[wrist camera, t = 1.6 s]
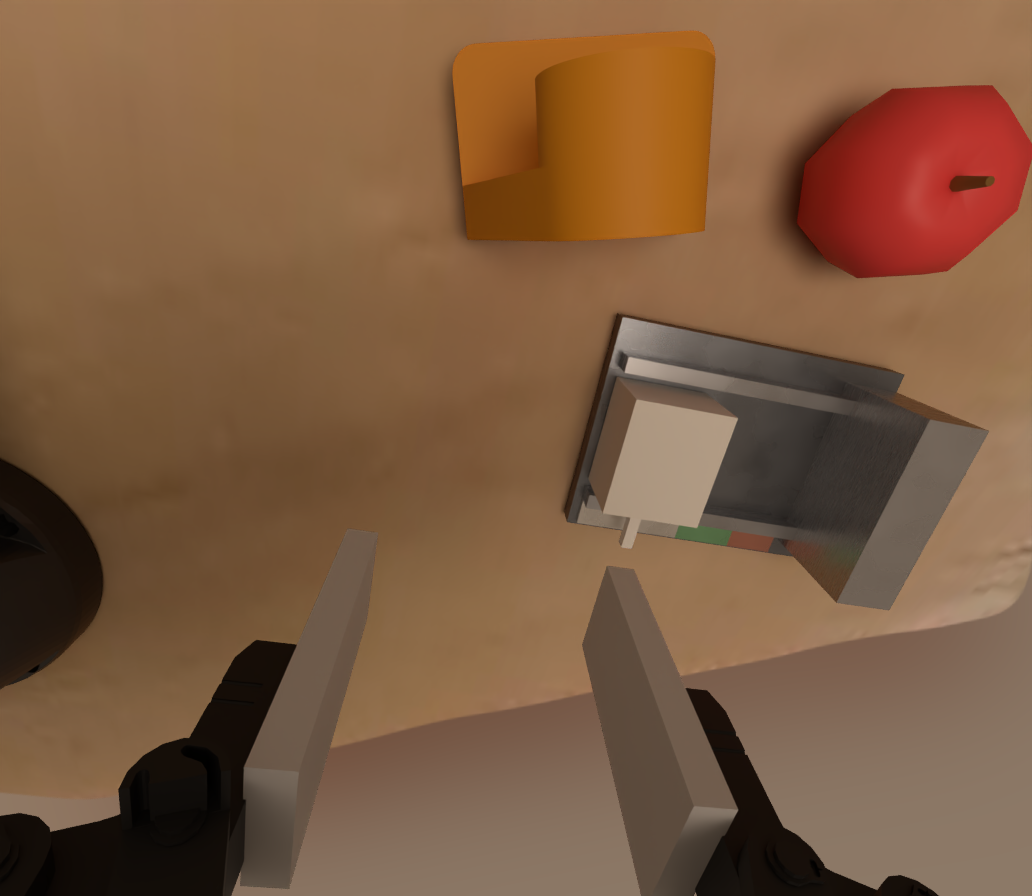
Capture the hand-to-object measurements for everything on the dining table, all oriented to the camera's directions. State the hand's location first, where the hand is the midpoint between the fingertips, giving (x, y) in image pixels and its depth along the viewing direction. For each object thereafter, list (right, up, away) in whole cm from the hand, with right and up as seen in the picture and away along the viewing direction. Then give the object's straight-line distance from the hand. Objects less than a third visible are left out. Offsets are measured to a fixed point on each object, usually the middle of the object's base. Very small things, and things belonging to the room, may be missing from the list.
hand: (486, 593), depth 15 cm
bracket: (+4, +18, +11) cm, 22 cm away
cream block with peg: (+8, +3, +16) cm, 18 cm away
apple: (+17, +17, +13) cm, 27 cm away
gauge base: (+13, +4, +17) cm, 22 cm away
